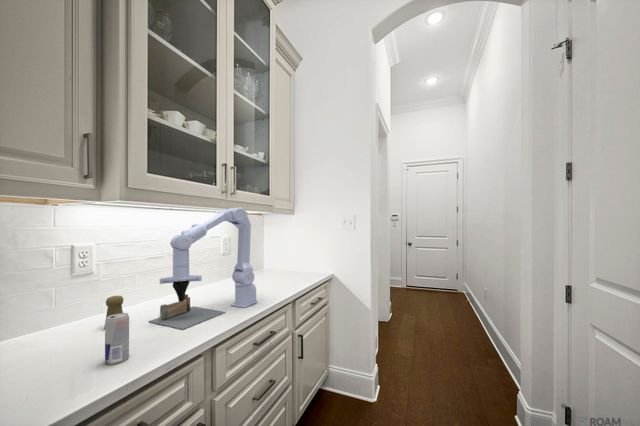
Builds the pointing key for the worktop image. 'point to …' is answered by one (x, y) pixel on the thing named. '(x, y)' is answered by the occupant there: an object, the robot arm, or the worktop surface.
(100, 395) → the worktop surface
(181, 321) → the mat
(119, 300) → the cork
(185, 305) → the gate
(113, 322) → the energy drink
